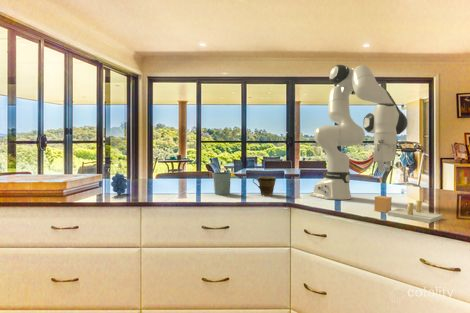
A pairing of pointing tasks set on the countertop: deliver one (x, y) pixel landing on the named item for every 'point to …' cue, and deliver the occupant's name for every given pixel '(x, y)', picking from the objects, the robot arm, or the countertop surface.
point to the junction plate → (415, 213)
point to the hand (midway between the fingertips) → (384, 172)
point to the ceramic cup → (266, 185)
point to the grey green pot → (222, 183)
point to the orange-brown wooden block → (382, 204)
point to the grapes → (119, 183)
